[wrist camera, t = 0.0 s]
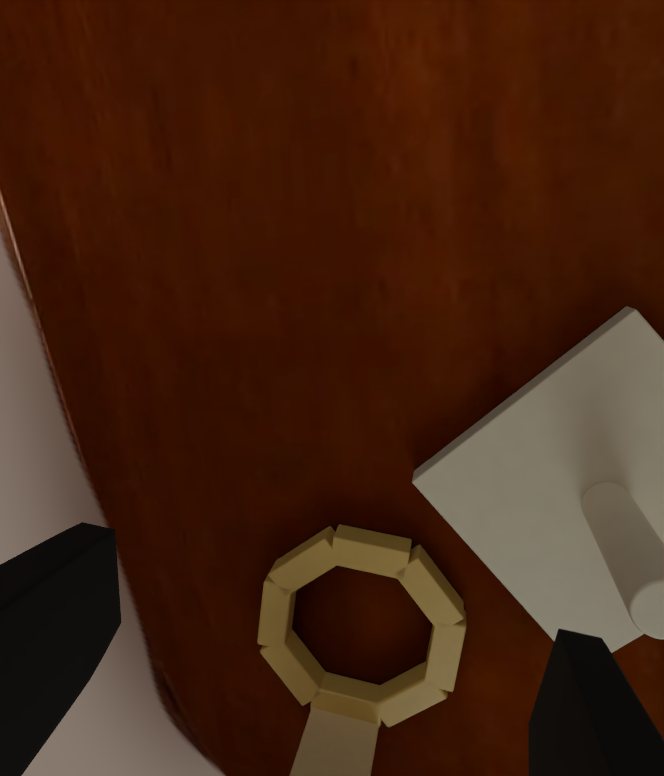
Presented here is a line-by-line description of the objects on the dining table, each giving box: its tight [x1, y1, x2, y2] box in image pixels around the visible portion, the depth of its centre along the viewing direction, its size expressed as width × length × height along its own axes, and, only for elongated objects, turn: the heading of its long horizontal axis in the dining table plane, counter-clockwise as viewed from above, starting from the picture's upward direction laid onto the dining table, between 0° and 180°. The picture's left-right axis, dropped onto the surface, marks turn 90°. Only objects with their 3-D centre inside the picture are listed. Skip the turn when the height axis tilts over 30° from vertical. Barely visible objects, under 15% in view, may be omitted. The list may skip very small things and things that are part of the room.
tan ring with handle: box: [257, 524, 466, 776], centre depth 19 cm, size 8×7×6 cm
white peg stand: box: [412, 306, 664, 653], centre depth 16 cm, size 8×8×6 cm
